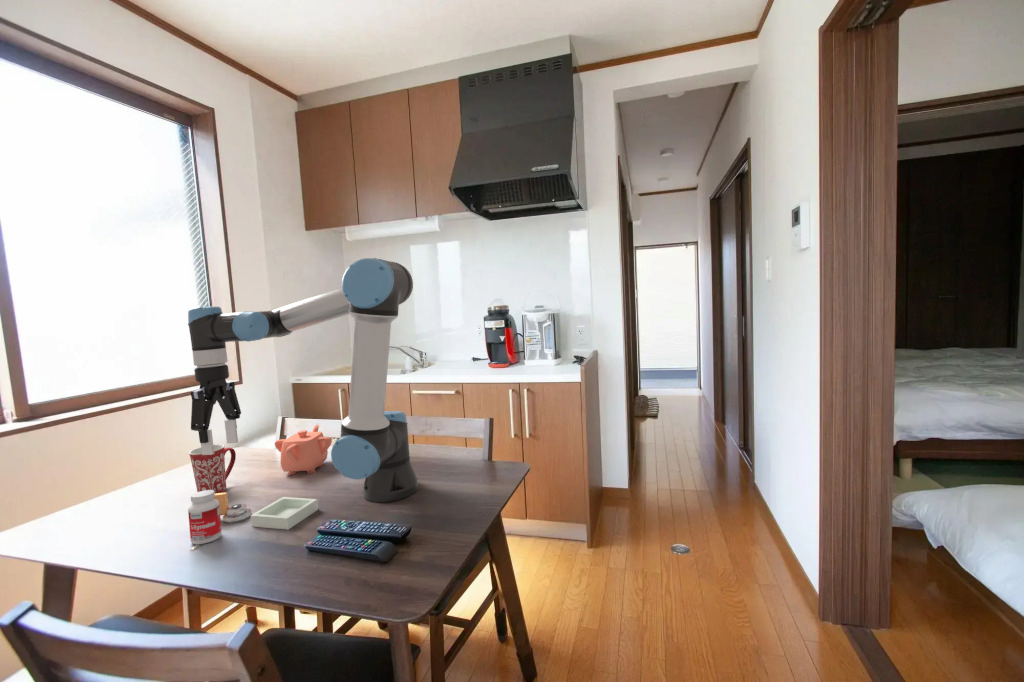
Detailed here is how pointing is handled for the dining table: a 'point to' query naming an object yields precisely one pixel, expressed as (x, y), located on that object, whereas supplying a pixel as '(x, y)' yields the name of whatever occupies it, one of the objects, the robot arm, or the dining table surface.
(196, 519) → the pill bottle
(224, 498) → the tan and grey pieces
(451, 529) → the dining table surface
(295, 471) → the pink toy figure
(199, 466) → the mug
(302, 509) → the tray
